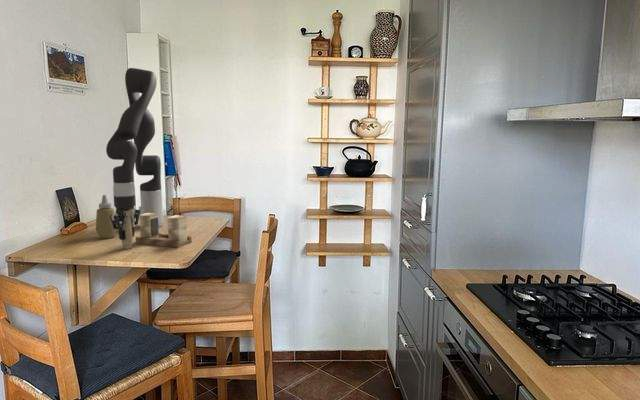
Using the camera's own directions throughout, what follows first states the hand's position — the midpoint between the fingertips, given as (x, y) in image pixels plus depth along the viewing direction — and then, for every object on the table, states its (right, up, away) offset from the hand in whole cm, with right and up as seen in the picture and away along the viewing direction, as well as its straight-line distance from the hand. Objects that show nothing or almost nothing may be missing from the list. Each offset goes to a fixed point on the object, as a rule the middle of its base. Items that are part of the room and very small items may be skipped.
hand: (126, 238), depth 168 cm
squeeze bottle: (-16, -1, +17) cm, 23 cm away
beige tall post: (0, -4, +1) cm, 4 cm away
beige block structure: (+11, -3, +10) cm, 15 cm away
